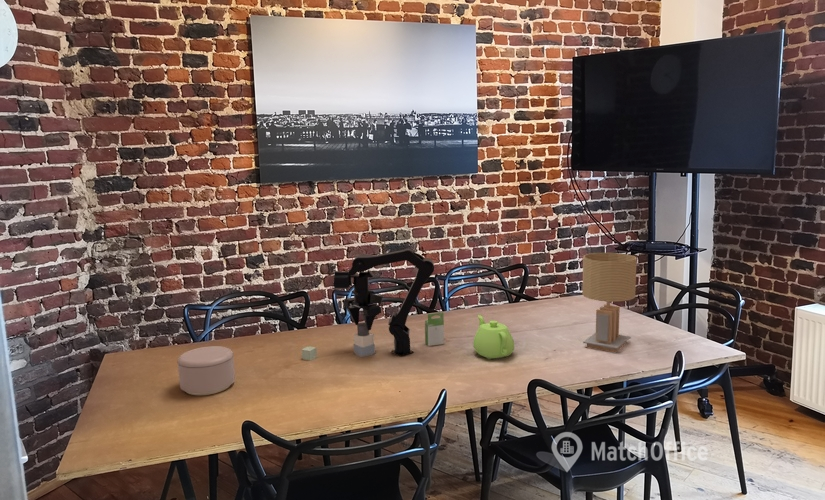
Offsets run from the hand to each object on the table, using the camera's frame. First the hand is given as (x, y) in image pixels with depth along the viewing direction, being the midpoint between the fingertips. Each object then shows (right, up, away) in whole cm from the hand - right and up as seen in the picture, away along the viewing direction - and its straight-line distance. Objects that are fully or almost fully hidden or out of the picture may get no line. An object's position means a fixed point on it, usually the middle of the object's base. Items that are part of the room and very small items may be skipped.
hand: (363, 327), depth 230 cm
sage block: (-20, -12, -2) cm, 24 cm away
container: (-51, -17, -27) cm, 60 cm away
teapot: (+50, -10, -2) cm, 51 cm away
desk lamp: (+96, -8, +4) cm, 96 cm away
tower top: (0, -7, +1) cm, 7 cm away
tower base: (0, -11, +2) cm, 11 cm away
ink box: (+28, -8, +11) cm, 31 cm away
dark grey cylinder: (0, -3, 0) cm, 3 cm away
